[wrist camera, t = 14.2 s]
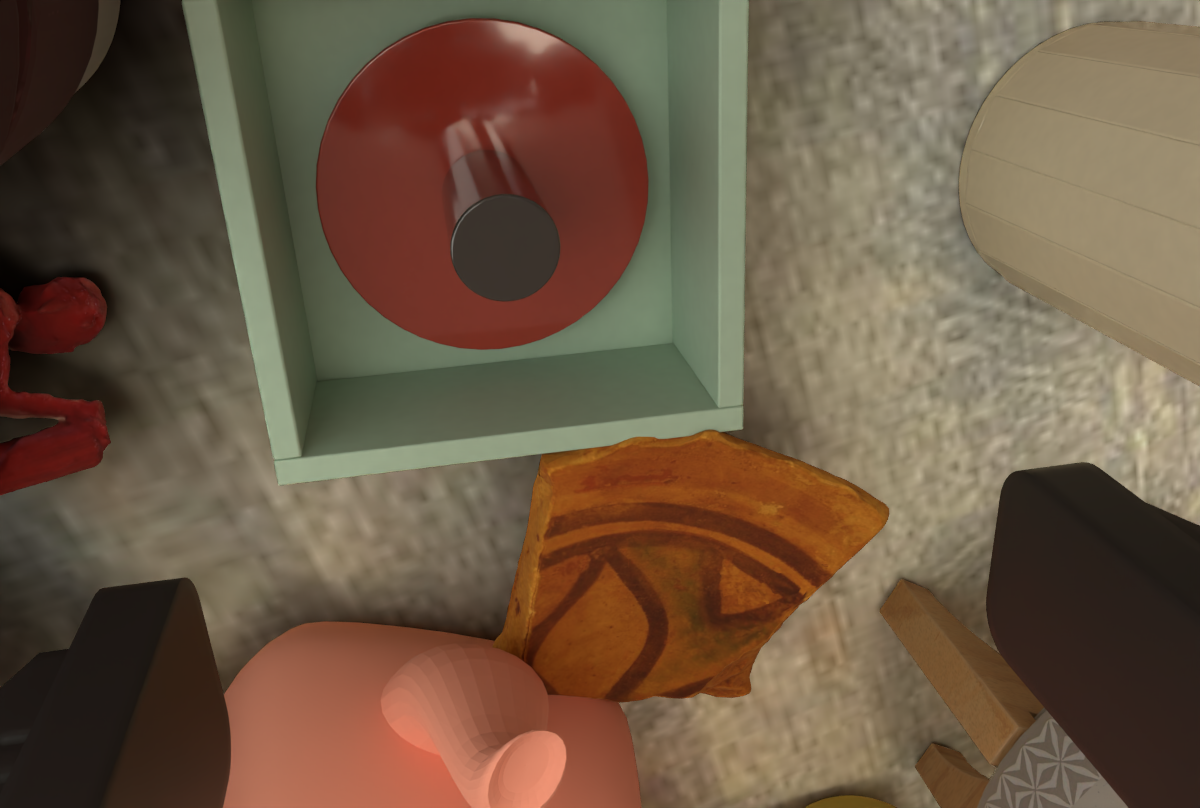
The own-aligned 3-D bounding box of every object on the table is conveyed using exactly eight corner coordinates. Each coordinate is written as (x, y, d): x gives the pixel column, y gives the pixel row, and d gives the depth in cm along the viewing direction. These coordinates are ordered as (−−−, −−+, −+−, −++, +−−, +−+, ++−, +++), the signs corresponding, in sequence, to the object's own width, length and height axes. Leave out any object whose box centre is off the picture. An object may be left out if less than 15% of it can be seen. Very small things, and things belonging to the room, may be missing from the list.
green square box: (218, -42, 25) (172, -40, 20) (685, -66, 27) (750, -69, 22) (298, 397, 30) (277, 486, 25) (690, 354, 32) (743, 430, 27)
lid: (292, 26, 26) (259, 48, 20) (635, 5, 27) (702, 20, 21) (344, 352, 29) (330, 454, 23) (644, 321, 30) (703, 410, 24)
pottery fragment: (483, 719, 31) (543, 558, 23) (481, 581, 33) (534, 397, 26) (793, 719, 33) (942, 573, 25) (767, 590, 36) (894, 423, 28)
